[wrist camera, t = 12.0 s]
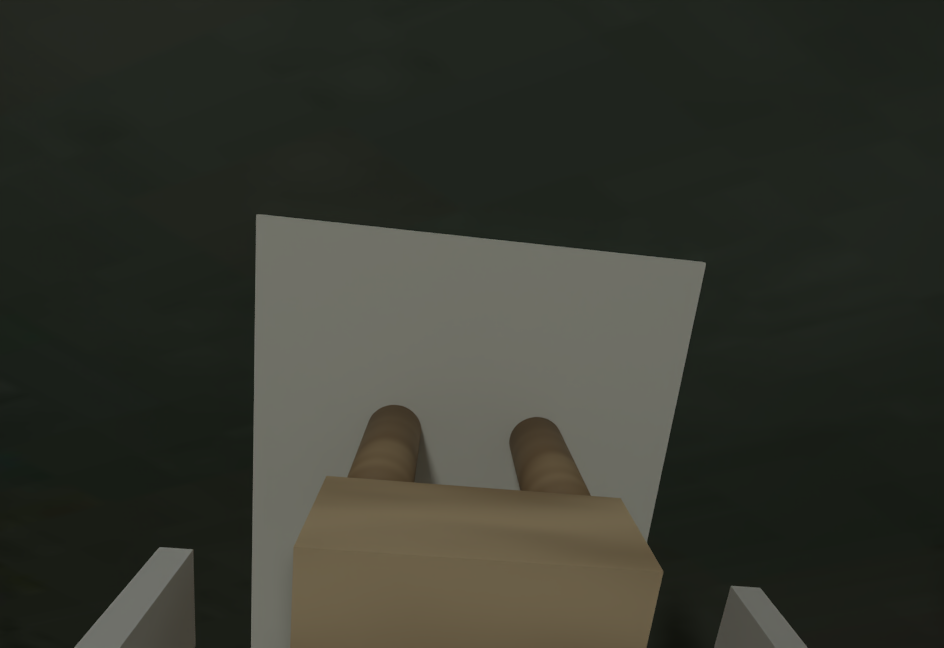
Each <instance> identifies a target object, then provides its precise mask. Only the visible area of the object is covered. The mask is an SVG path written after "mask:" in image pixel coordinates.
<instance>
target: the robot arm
mask: <svg viewBox="0 0 944 648" xmlns="http://www.w3.org/2000/svg"><path fill="white" fill-rule="evenodd" d="M194 647H195V607H194V565H193V549H178V548H163V547H159V548H158V550H157V551H156V552H155V553H154V554H153V555H152V557H151V558H150V559H149V560H148V561H147V563H146V564H145V565H144V566H143V567H142V568H141V570H140V571H139V572H138V573H137V574H136V576H135V577H134V578H133V579H132V580H131V581H130V583H129V584H128V585H127V586H126V587H125V588H124V590H123V591H122V592H121V593H120V594H119V596H118V597H117V598H116V599H115V600H114V601H113V603H112V604H111V605H110V606H109V607H108V609H107V610H106V611H105V612H104V613H103V614H102V616H101V617H100V618H99V619H98V620H97V621H96V623H95V624H94V625H93V626H92V627H91V629H90V630H89V631H88V632H87V633H86V634H85V636H84V637H83V638H82V639H81V640H80V641H79V643H78V644H77V645H76V646H75V647H74V648H194ZM714 648H807V646H806V645H805V644H804V643H803V641H802V640H801V639H800V637H799V636H798V635H797V634H796V632H795V631H794V630H793V629H792V627H791V626H790V625H789V624H788V622H787V621H786V620H785V619H784V617H783V616H782V615H781V614H780V612H779V611H778V610H777V608H776V607H775V606H774V605H773V603H772V602H771V601H770V600H769V598H768V597H767V596H766V595H765V593H764V592H763V591H762V590H761V588H754V587H740V586H731V587H730V591H729V595H728V598H727V602H726V606H725V609H724V613H723V617H722V621H721V624H720V628H719V632H718V635H717V639H716V643H715V647H714Z"/></svg>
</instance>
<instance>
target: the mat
mask: <svg viewBox="0 0 944 648" xmlns="http://www.w3.org/2000/svg"><path fill="white" fill-rule="evenodd" d="M705 266H706V263H703V262H698V261H688V260H679V259H670V258H661V257H651V256H642V255H633V254H623V253H614V252H605V251H596V250H586V249H577V248H568V247H558V246H549V245H540V244H531V243H521V242H512V241H503V240H494V239H484V238H475V237H466V236H456V235H447V234H438V233H429V232H419V231H410V230H401V229H391V228H382V227H373V226H364V225H354V224H345V223H336V222H327V221H317V220H308V219H299V218H289V217H280V216H271V215H262V214H260V215H256V279H255V362H254V445H253V529H252V612H251V648H290V638H291V608H292V577H293V547H294V545H295V543H296V541H297V538H298V536H299V534H300V532H301V530H302V528H303V525H304V523H305V521H306V519H307V517H308V515H309V512H310V510H311V508H312V506H313V504H314V502H315V499H316V497H317V495H318V493H319V491H320V489H321V486H322V484H323V482H324V480H325V478H326V476H336V477H347V476H348V474H349V471H350V469H351V466H352V463H353V461H354V458H355V456H356V453H357V450H358V448H359V445H360V443H361V440H362V437H363V435H364V432H365V429H366V427H367V424H368V422H369V419H370V418H371V416H372V415H373V413H374V412H376V411H377V410H378V409H380V408H382V407H384V406H388V405H400V406H404V407H406V408H408V409H410V410H411V411H412V412H413V413H414V414H415V415H416V416H417V417H418V419H419V421H420V424H421V437H420V445H419V452H418V460H417V467H416V475H415V483H428V484H441V485H454V486H467V487H481V488H494V489H507V490H520V487H519V483H518V479H517V475H516V471H515V467H514V463H513V459H512V454H511V450H510V446H509V439H510V435H511V433H512V431H513V429H514V428H515V427H516V425H517V424H519V423H520V422H521V421H523V420H525V419H528V418H532V417H542V418H546V419H548V420H550V421H552V422H553V423H554V424H555V425H556V426H557V427H558V429H559V431H560V433H561V435H562V437H563V439H564V441H565V443H566V445H567V447H568V449H569V451H570V453H571V455H572V457H573V460H574V462H575V464H576V466H577V468H578V470H579V472H580V474H581V476H582V478H583V480H584V482H585V484H586V486H587V489H588V491H589V493H590V495H591V496H599V497H612V498H621V500H622V501H623V503H624V505H625V506H626V508H627V510H628V512H629V513H630V515H631V517H632V518H633V520H634V522H635V524H636V525H637V527H638V529H639V531H640V532H641V534H642V536H643V537H644V539H645V541H646V543H647V539H648V534H649V529H650V525H651V520H652V515H653V510H654V506H655V501H656V496H657V492H658V487H659V482H660V478H661V473H662V468H663V463H664V459H665V454H666V449H667V445H668V440H669V435H670V431H671V426H672V421H673V416H674V412H675V407H676V402H677V398H678V393H679V388H680V384H681V379H682V374H683V369H684V365H685V360H686V355H687V351H688V346H689V341H690V337H691V332H692V327H693V323H694V318H695V313H696V308H697V304H698V299H699V294H700V290H701V285H702V280H703V276H704V271H705Z"/></svg>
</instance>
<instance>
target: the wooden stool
mask: <svg viewBox="0 0 944 648" xmlns="http://www.w3.org/2000/svg"><path fill="white" fill-rule="evenodd" d="M420 437H421V424H420V421H419V419H418V417H417V416H416V415H415V414H414V413H413V412H412V411H411V410H410V409H408V408H406V407H404V406H400V405H388V406H384V407H382V408H380V409H378V410H377V411H376V412H374V413H373V415H372V416H371V418H370V419H369V422H368V424H367V427H366V429H365V432H364V435H363V437H362V440H361V443H360V445H359V448H358V450H357V453H356V456H355V458H354V461H353V463H352V466H351V469H350V471H349V474H348V476H347V477H336V476H326V478H325V480H324V482H323V484H322V486H321V489H320V491H319V493H318V495H317V497H316V499H315V502H314V504H313V506H312V508H311V510H310V512H309V515H308V517H307V519H306V521H305V523H304V525H303V528H302V530H301V532H300V534H299V536H298V538H297V541H296V543H295V545H294V547H293V577H292V608H291V638H290V648H646V647H647V642H648V638H649V634H650V629H651V625H652V620H653V616H654V611H655V607H656V602H657V598H658V593H659V589H660V585H661V580H662V576H663V570H662V568H661V567H660V565H659V563H658V562H657V560H656V558H655V556H654V555H653V553H652V551H651V549H650V548H649V546H648V544H647V543H646V541H645V539H644V537H643V536H642V534H641V532H640V531H639V529H638V527H637V525H636V524H635V522H634V520H633V518H632V517H631V515H630V513H629V512H628V510H627V508H626V506H625V505H624V503H623V501H622V500H621V498H612V497H599V496H591V495H590V493H589V491H588V489H587V486H586V484H585V482H584V480H583V478H582V476H581V474H580V472H579V470H578V468H577V466H576V464H575V462H574V460H573V457H572V455H571V453H570V451H569V449H568V447H567V445H566V443H565V441H564V439H563V437H562V435H561V433H560V431H559V429H558V427H557V426H556V425H555V424H554V423H553V422H552V421H550V420H548V419H546V418H542V417H532V418H528V419H525V420H523V421H521V422H520V423H519V424H517V425H516V427H515V428H514V429H513V431H512V433H511V435H510V439H509V446H510V450H511V454H512V459H513V463H514V467H515V471H516V475H517V479H518V483H519V487H520V490H507V489H494V488H481V487H467V486H454V485H441V484H428V483H415V475H416V467H417V460H418V452H419V445H420Z"/></svg>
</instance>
